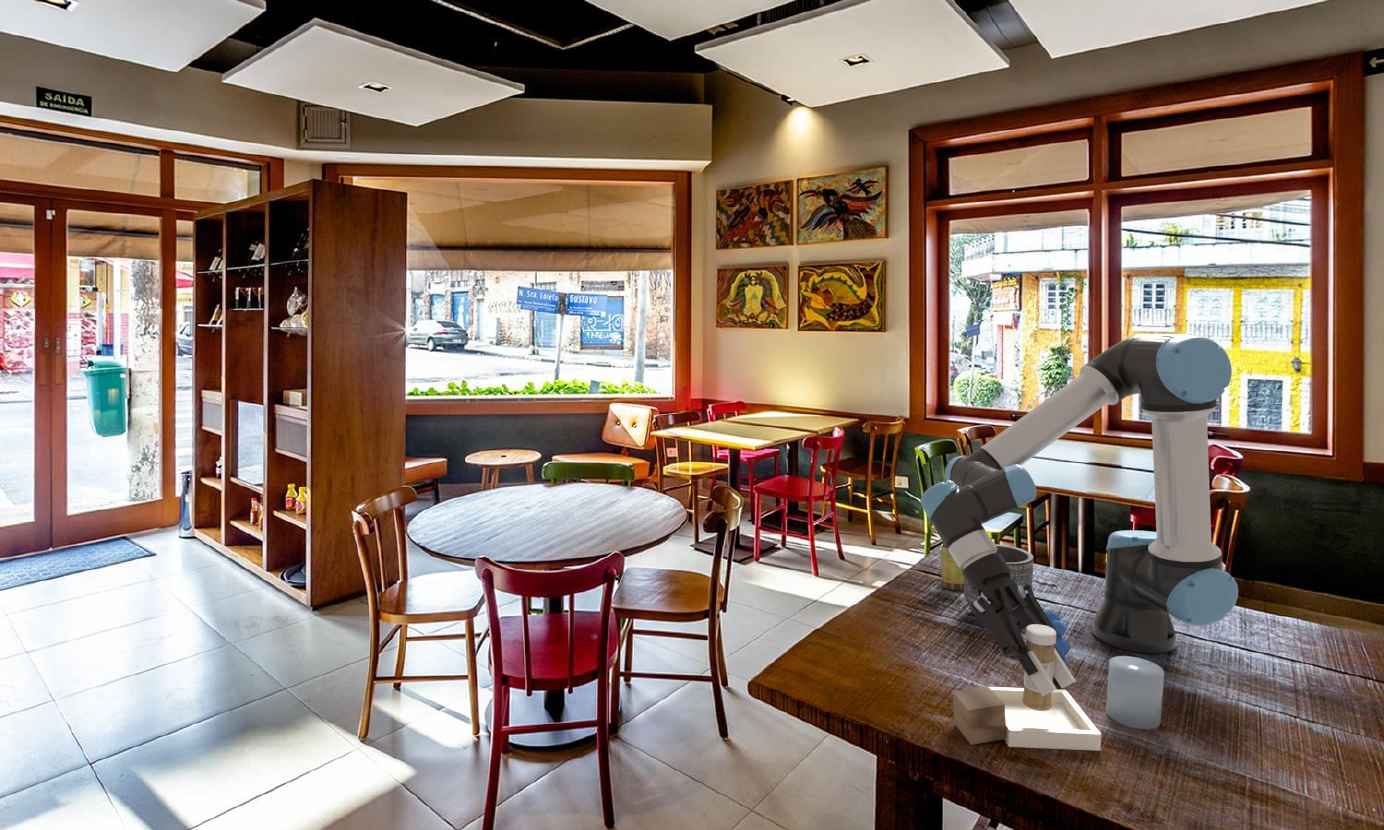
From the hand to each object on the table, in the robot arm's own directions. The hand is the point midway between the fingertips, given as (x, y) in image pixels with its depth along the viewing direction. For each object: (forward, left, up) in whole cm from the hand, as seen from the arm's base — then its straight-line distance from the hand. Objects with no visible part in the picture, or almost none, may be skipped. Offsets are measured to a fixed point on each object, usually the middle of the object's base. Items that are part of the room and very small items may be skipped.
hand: (1059, 688), depth 120 cm
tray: (+2, -3, -8) cm, 9 cm away
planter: (-5, -49, -8) cm, 50 cm away
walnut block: (+12, +1, -8) cm, 15 cm away
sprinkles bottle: (+2, -3, -5) cm, 6 cm away
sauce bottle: (0, -67, -8) cm, 68 cm away
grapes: (-6, -22, -8) cm, 24 cm away
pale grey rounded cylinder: (-15, -8, -8) cm, 19 cm away
